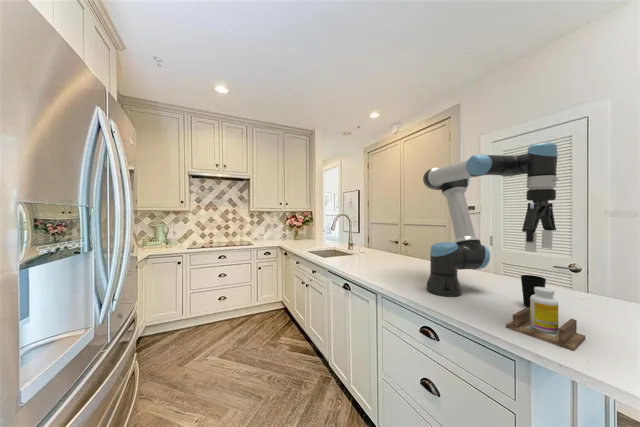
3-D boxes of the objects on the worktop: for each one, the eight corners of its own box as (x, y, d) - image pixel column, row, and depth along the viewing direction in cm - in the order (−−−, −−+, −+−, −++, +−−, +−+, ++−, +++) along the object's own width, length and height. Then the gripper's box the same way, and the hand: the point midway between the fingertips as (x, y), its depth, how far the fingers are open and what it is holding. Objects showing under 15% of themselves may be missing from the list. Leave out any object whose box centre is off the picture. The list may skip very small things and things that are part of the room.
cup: (550, 311, 94) (551, 280, 94) (528, 309, 96) (528, 279, 95) (537, 303, 102) (537, 275, 101) (516, 302, 103) (516, 274, 103)
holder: (505, 327, 81) (506, 312, 81) (520, 318, 87) (520, 305, 87) (573, 350, 67) (573, 332, 67) (585, 338, 74) (585, 322, 74)
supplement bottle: (563, 335, 73) (564, 293, 73) (538, 332, 75) (538, 291, 75) (548, 325, 80) (549, 286, 80) (525, 323, 82) (525, 285, 81)
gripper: (540, 186, 75) (537, 255, 75) (568, 189, 87) (566, 248, 88) (511, 188, 81) (509, 251, 82) (541, 190, 93) (539, 245, 94)
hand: (538, 250), depth 85 cm, fingers open, 13 cm apart
